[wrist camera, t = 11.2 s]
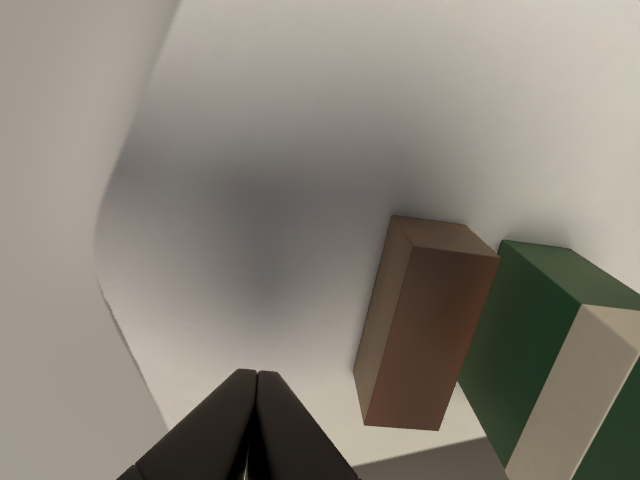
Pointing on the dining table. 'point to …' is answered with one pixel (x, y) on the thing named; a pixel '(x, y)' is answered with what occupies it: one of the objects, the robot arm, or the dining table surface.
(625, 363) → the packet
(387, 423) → the block
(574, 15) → the dining table surface
